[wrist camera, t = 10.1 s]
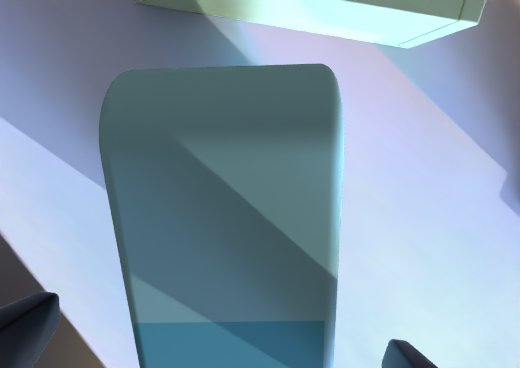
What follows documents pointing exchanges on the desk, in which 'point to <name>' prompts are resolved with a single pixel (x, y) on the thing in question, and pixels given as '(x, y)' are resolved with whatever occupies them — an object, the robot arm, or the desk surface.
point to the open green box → (347, 16)
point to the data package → (227, 212)
